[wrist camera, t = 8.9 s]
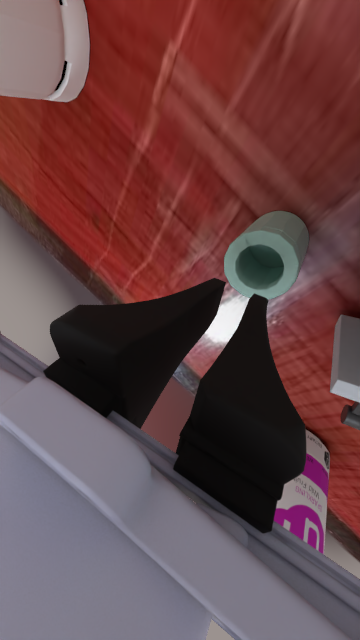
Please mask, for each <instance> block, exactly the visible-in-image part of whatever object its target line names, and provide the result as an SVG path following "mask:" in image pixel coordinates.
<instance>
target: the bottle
mask: <svg viewBox="0 0 360 640" xmlns="http://www.w3.org/2000/svg"><path fill="white" fill-rule="evenodd" d="M62 3H63V5H60V3H59V0H0V95H2V96H11V97H21V98H31V99H45V100H50V101H60V102H69V101H71V100H73V99H75V98H77V96H78V94H79V93H80V91H81V90H82V88H83V87H84V84H85V80H86V76H87V72H88V69H89V52H90V39H89V30H88V20H87V13H86V9H85V5H84V1H83V0H62ZM64 61H67V67H66V72H65V77H64V79H63V81H62V83H61V85H60V87H59V88H58V90H56V91H55V89H56V87H57V85H58V83H59V81H60V80H61V77H62V72H63V66H64ZM54 91H55V92H54Z"/></svg>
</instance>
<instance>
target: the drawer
mask: <svg viewBox="0 0 360 640" xmlns="http://www.w3.org/2000/svg"><path fill="white" fill-rule="evenodd" d="M330 392H331V393H334V394H337V395H340V396H343V397H345V398H348V399H351V400H354V401H356V402H355V403H354V404H353V405H352V406H350V405H345V406H344V408H343V410H342V413H341V422H342V423H343V424H346V425H348V426H351V427H353V428H355V429H358V430H360V319H359V318H354V317H350V316H346V315H340V317H339V319H338V321H337V323H336V325H335V334H334V347H333V360H332V373H331V386H330Z"/></svg>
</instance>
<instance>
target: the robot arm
mask: <svg viewBox="0 0 360 640" xmlns="http://www.w3.org/2000/svg"><path fill="white" fill-rule="evenodd" d="M225 283H226V282H224V281H221V280H218V279H216V278H213V279H211V280H208V281H206V282H204V283H201V284H199V285H197V286H194V287H192V288H189V289H187V290H184V291H181V292H178V293H175V294H172V295H169V296H166V297H162V298H158V299H153V300H149V301H142V302H136V303H129V304H117V305H78V306H77V307H75V308H73V309H72V310H70V311H69V312H67V313H65V314H64V315H63V316H61V317H59V318H58V319H56V320H55V321H53V322H52V323H51V325H50V334H51V337H52V340H53V342H54V345H55V347H56V350H57V352H58V354H59V357H60V358H59V359H58V360H56V361H55V362H54V363H53V364H51V365H50V366H47V365H46V364H44V363H43V362H41V361H40V360H38V359H37V358H36V357H34V356H33V355H31V354H29V353H28V352H27V351H25V350H24V349H22V348H21V347H19V346H18V345H17V344H15V343H13V342H12V341H11V340H9V339H8V338H6V337H5V336H3V335H2V334H0V640H206V636H207V633H208V629H209V625H210V622H211V619H212V620H213V621H215V622H216V623H217V624H218V625H219V626H220V627H221V628H223V629H224V630H225V631H226V632H227V633H228V634H229V635H231V636H232V637H233V638H234V639H235V640H360V579H358V578H357V577H355V576H354V575H353V574H351V573H350V572H348V571H347V570H345V569H344V568H342V567H341V566H340V565H338V564H337V563H335V562H334V561H332V560H331V559H329V558H328V557H326V556H325V555H323V554H322V553H321V552H319V551H318V550H316V549H315V548H313V547H312V546H310V545H309V544H307V543H306V542H304V541H303V540H302V539H300V538H299V537H297V536H296V535H294V534H293V533H291V532H290V531H288V530H287V529H285V528H284V527H283V526H281V525H280V524H278V523H277V522H275V521H274V516H275V511H276V506H277V501H279V500H281V498H282V494H283V489H284V484H286V483H288V482H289V481H291V480H293V479H294V478H296V477H298V476H299V475H301V473H302V472H303V471H304V468H305V464H306V429H305V424H304V423H303V421H302V419H301V418H300V416H299V414H298V412H297V411H296V409H295V407H294V406H293V404H292V402H291V401H290V399H289V396H288V394H287V392H286V390H285V388H284V386H283V384H282V381H281V379H280V376H279V374H278V371H277V369H276V366H275V363H274V360H273V356H272V353H271V349H270V344H269V339H268V332H267V320H266V311H267V303H268V299H267V298H265V297H263V296H260V295H257V294H255V293H254V294H253V295H252V297H251V298H250V299H249V302H248V304H247V307H246V309H245V312H244V314H243V317H242V319H241V322H240V324H239V326H238V328H237V330H236V331H235V333H234V334H233V336H232V337H231V339H230V340H229V342H228V343H227V345H226V346H225V348H224V349H223V351H222V352H221V354H220V355H219V356H218V358H217V359H216V361H215V362H214V363H213V365H212V366H211V367H210V369H209V370H208V371H207V373H206V374H205V375H204V376H203V378H202V379H201V380H200V384H199V387H198V390H197V394H196V397H195V400H194V404H193V407H192V411H191V414H190V417H189V419H188V421H187V422H186V424H185V426H184V427H183V429H182V431H181V433H180V439H179V443H178V447H177V450H176V453H174V452H173V451H171V450H170V449H168V448H167V447H166V446H164V445H162V444H161V443H159V442H158V441H157V440H155V439H154V438H152V437H151V436H150V435H148V434H147V433H145V432H144V431H142V430H141V427H142V425H143V423H144V422H145V420H146V418H147V416H148V415H149V413H150V411H151V409H152V408H153V406H154V404H155V403H156V401H157V399H158V398H159V396H160V394H161V393H162V391H163V390H164V388H165V386H166V385H167V383H168V382H169V380H170V378H171V377H172V375H173V374H174V372H175V371H176V369H177V367H178V366H179V364H180V363H181V362H182V360H183V359H184V357H185V356H186V355H187V354H188V353H189V351H190V350H191V349H192V348H193V346H194V345H195V344H196V343H197V342H198V340H199V339H200V338H201V337H202V335H203V334H204V333H205V332H206V330H207V329H208V328H209V326H210V324H211V323H212V321H213V320H214V318H215V316H216V315H217V312H218V308H219V305H220V301H221V298H222V294H223V291H224V287H225ZM187 496H188V497H187ZM191 499H192V500H193V501H194V502H196V504H195V503H194V502H193V501H192V500H191Z"/></svg>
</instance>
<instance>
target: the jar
mask: <svg viewBox="0 0 360 640" xmlns="http://www.w3.org/2000/svg"><path fill="white" fill-rule="evenodd" d="M308 243H309V233H308V230H307V227H306V225H305V224H304V222H303V221H302V220H301V219H300V218H299V217H298V216H296V215H294V214H292V213H290V212H286V211H274V212H270V213H267V214H265V215H263V216H261V217H260V218H258V219H257V220H256V221H255V222H254V223H252V224H251V225H250V226H249V227H248V228H247V229H246V230H245V231H244V232H243V233H242V234H241V235H239V236H238V237H237V238H236V239H235V240H234V241H233V242H232V243H231V244H230V246H229V248H228V250H227V252H226V254H225V256H224V271H225V275H226V277H227V279H228V281H229V283H230V285H231V286H232V287H233V288H234V289H236V290H237V291H238V292H239V293H240V294H242V295H243V296H246V297H249V298H251V297H252V295H253V294H254V293H255V294H257V295H260V296H263V297H265V298H267V299H273V298H275V297H278V296H280V295H282V294H284V293H286V292H287V291H288V290H289V289H290V287H291V286H292V285H293V284H294V282H295V281H296V279H297V277H298V274H299V272H300V269H301V266H302V263H303V261H304V258H305V255H306V252H307V247H308Z"/></svg>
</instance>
